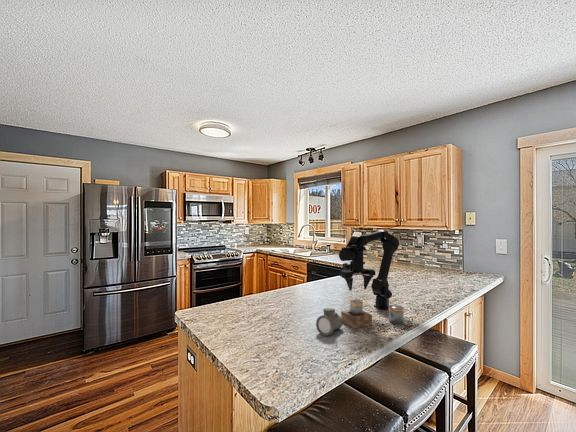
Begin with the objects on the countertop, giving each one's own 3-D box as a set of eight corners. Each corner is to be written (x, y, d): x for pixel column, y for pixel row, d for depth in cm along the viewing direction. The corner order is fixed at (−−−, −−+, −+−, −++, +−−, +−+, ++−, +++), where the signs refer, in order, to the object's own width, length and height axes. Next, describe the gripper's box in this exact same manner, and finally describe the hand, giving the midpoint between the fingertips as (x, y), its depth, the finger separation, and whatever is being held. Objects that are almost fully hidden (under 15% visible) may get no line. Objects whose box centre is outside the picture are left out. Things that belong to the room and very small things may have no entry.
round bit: (396, 318, 135) (396, 304, 135) (407, 323, 129) (406, 308, 129) (385, 320, 132) (385, 305, 132) (396, 325, 126) (395, 310, 126)
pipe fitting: (331, 337, 112) (331, 311, 114) (315, 334, 118) (315, 309, 119) (346, 332, 121) (346, 308, 123) (331, 329, 126) (330, 305, 128)
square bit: (357, 318, 132) (357, 299, 132) (362, 321, 128) (362, 301, 129) (350, 319, 131) (350, 300, 131) (355, 322, 127) (355, 302, 127)
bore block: (358, 317, 136) (358, 308, 136) (372, 324, 127) (372, 315, 127) (341, 320, 132) (341, 311, 132) (354, 328, 123) (354, 318, 123)
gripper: (362, 256, 154) (362, 284, 154) (333, 258, 147) (333, 288, 147) (376, 259, 144) (376, 289, 144) (346, 261, 136) (346, 293, 136)
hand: (357, 289), depth 143 cm, fingers open, 9 cm apart
